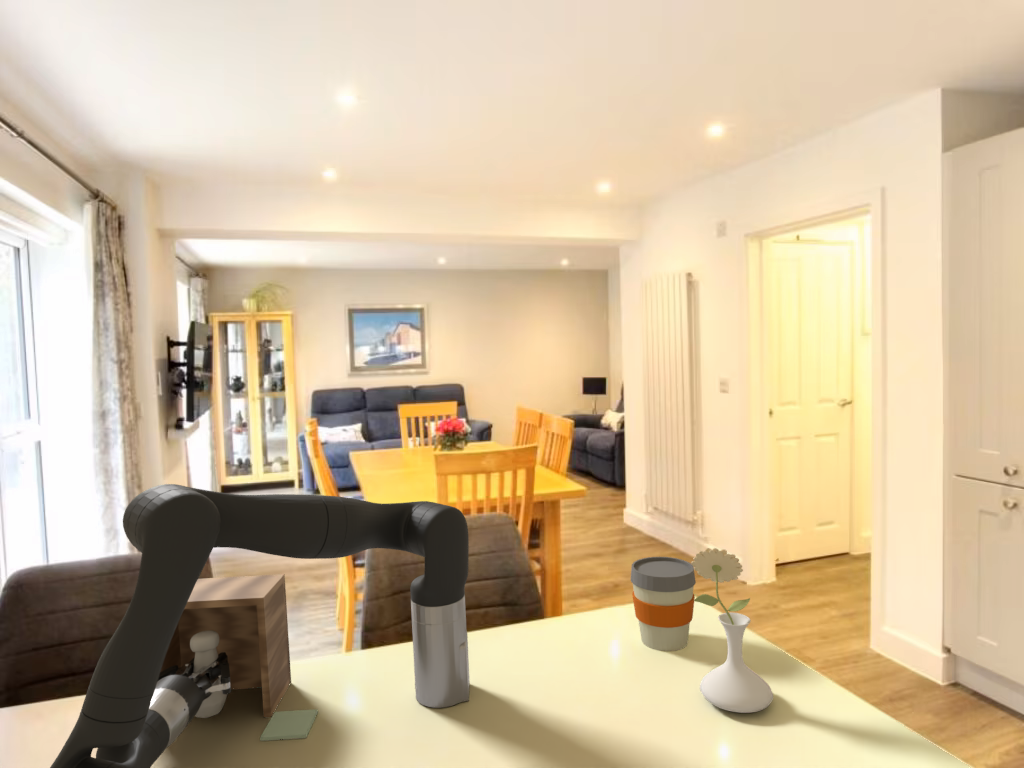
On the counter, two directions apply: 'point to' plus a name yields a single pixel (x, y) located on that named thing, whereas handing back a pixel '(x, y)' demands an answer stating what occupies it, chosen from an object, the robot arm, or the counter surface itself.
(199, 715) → the salt shaker
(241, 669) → the cubby
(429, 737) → the counter surface
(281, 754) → the counter surface
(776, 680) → the counter surface
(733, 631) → the flower in vase
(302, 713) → the mat
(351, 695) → the counter surface
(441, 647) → the robot arm
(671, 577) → the reusable coffee cup
